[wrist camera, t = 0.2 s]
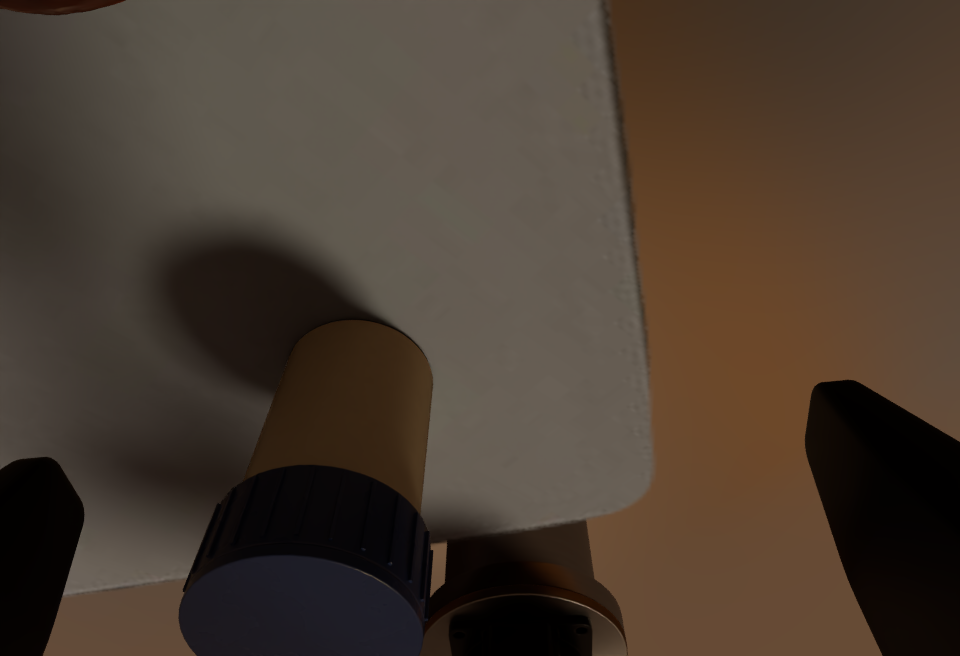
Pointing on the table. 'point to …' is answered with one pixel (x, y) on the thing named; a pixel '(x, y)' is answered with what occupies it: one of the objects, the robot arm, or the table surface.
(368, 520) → the jar lid
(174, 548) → the table surface
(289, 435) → the jar
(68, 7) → the supplement bottle
